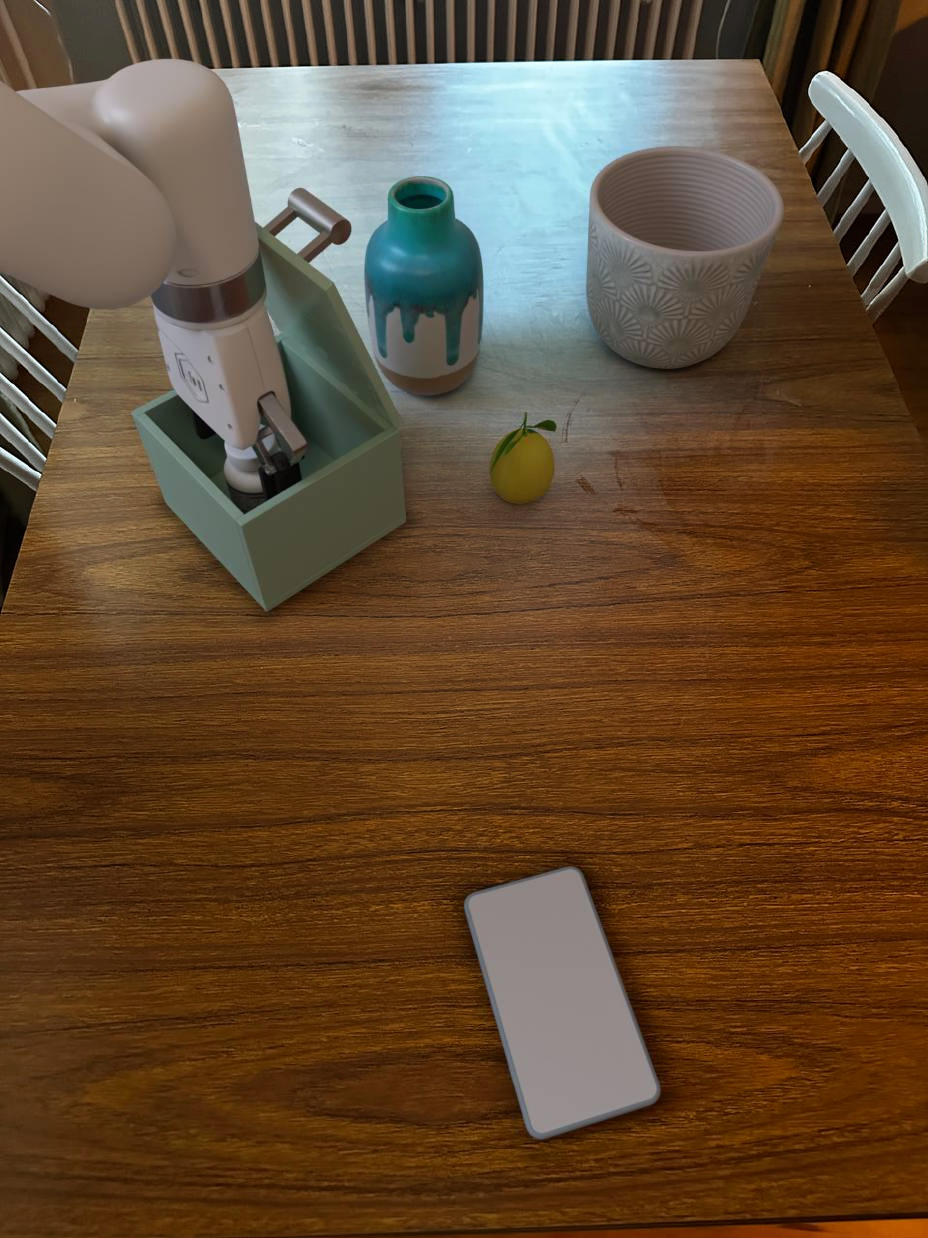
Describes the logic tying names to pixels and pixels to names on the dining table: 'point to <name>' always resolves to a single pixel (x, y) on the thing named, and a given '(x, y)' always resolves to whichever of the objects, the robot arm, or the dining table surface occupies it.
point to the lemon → (523, 464)
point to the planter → (676, 251)
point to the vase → (424, 290)
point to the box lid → (318, 301)
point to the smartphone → (559, 1003)
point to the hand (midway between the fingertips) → (249, 463)
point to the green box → (299, 516)
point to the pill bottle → (246, 474)
